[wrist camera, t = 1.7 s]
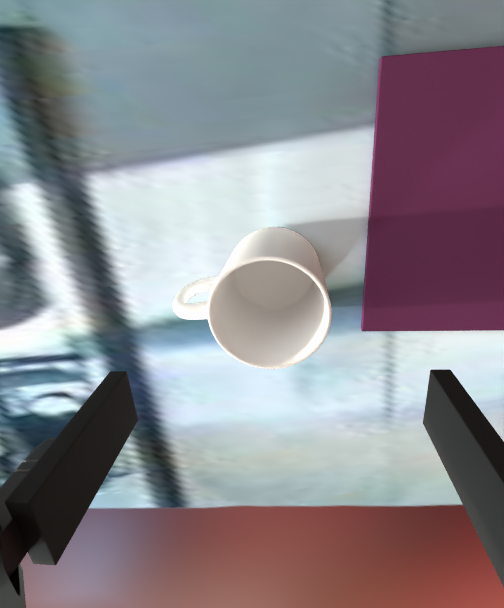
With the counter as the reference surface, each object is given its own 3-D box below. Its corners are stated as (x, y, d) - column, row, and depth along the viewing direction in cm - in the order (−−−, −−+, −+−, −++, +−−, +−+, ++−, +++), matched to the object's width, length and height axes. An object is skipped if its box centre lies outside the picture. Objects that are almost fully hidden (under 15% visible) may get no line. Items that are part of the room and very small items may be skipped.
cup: (322, 307, 34) (334, 366, 25) (200, 316, 36) (168, 374, 26) (317, 220, 31) (328, 249, 22) (184, 234, 33) (141, 267, 23)
